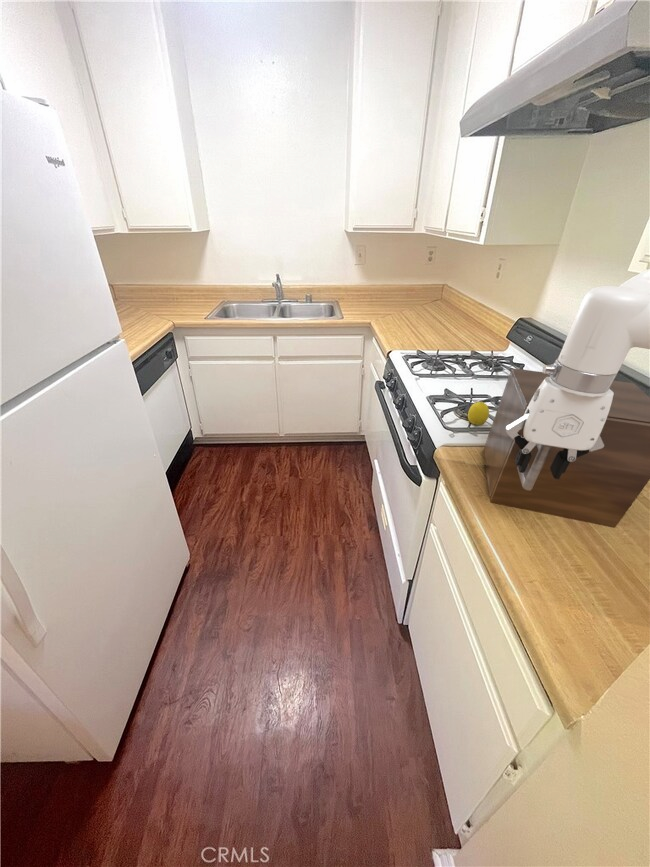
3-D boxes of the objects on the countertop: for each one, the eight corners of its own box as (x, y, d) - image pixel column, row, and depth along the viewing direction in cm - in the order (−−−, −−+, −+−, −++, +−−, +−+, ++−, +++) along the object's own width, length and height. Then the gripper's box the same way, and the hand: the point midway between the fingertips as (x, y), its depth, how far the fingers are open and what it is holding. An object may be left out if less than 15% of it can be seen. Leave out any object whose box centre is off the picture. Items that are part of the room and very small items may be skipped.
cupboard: (612, 523, 72) (681, 426, 58) (489, 499, 77) (527, 404, 64) (584, 470, 86) (634, 383, 73) (482, 453, 91) (511, 368, 78)
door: (629, 554, 65) (710, 454, 52) (493, 525, 70) (536, 427, 57) (613, 524, 71) (681, 427, 58) (489, 499, 77) (527, 405, 64)
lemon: (488, 430, 101) (496, 406, 97) (470, 431, 100) (478, 407, 96) (478, 420, 106) (485, 396, 101) (461, 421, 105) (468, 398, 100)
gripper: (523, 378, 50) (488, 474, 60) (660, 396, 47) (598, 495, 57) (515, 360, 56) (484, 450, 66) (636, 374, 53) (583, 467, 63)
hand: (537, 470), depth 61 cm, fingers open, 4 cm apart
